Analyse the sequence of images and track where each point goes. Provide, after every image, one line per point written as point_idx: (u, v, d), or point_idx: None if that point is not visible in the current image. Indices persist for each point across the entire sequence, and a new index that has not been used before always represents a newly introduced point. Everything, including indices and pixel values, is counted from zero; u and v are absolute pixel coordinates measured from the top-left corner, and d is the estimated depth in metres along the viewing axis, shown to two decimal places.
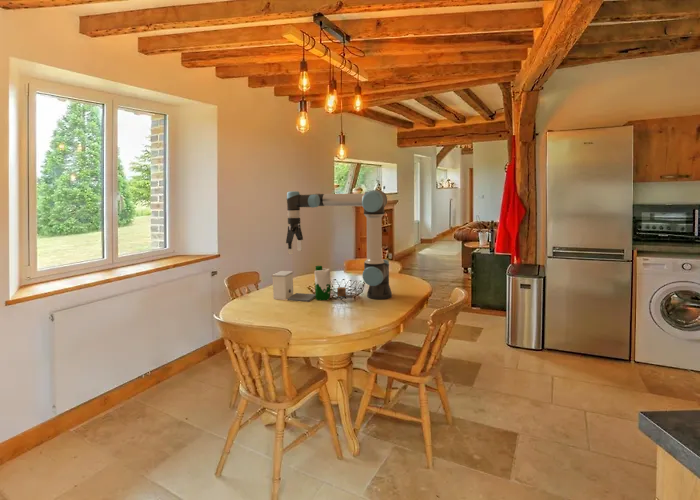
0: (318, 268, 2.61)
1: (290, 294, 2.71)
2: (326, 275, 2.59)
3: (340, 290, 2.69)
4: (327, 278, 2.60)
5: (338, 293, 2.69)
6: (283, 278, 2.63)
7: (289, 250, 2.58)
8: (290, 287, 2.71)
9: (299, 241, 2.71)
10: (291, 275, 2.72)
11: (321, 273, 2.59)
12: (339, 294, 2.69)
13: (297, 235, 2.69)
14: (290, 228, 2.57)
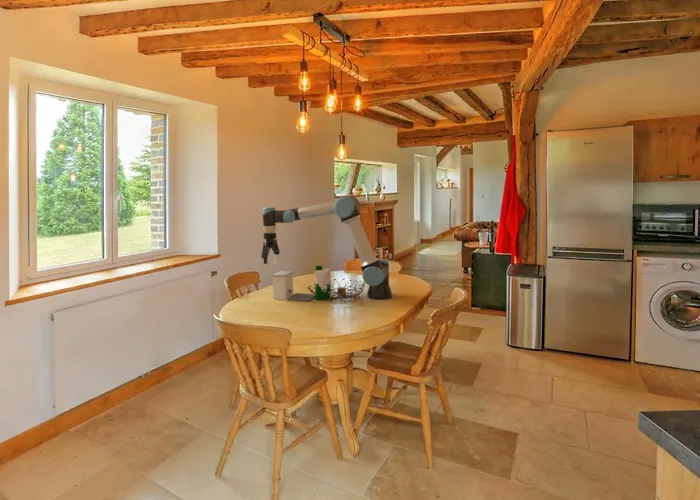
0: (318, 268, 2.61)
1: (290, 294, 2.71)
2: (326, 275, 2.59)
3: (340, 290, 2.69)
4: (327, 278, 2.60)
5: (338, 293, 2.69)
6: (283, 278, 2.63)
7: (265, 265, 2.64)
8: (290, 287, 2.71)
9: (275, 255, 2.76)
10: (291, 275, 2.72)
11: (321, 273, 2.59)
12: (339, 294, 2.69)
13: (273, 249, 2.74)
14: (265, 243, 2.62)
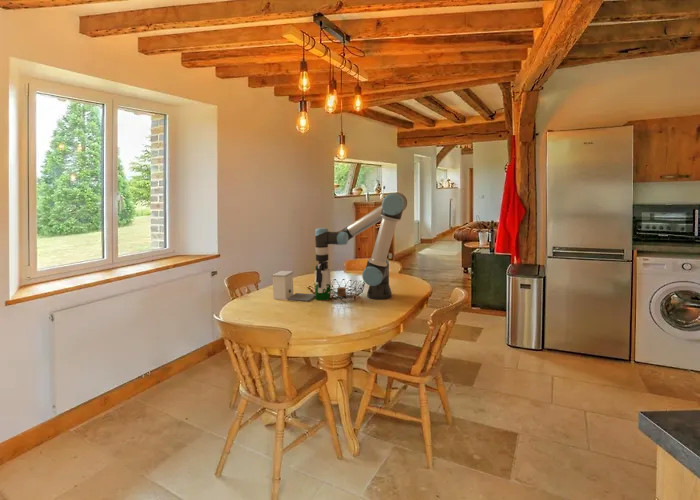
0: None
1: (290, 294, 2.71)
2: (326, 275, 2.59)
3: (340, 290, 2.68)
4: (327, 278, 2.60)
5: (338, 293, 2.69)
6: (283, 278, 2.63)
7: (319, 289, 2.60)
8: (290, 287, 2.71)
9: None
10: (291, 275, 2.72)
11: None
12: (339, 294, 2.69)
13: None
14: (319, 267, 2.56)
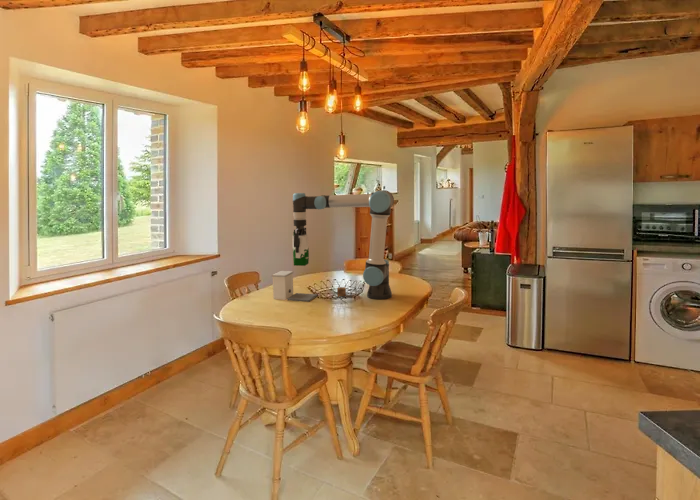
0: None
1: (290, 294, 2.71)
2: (304, 240, 2.59)
3: (340, 290, 2.69)
4: (305, 243, 2.60)
5: (338, 293, 2.69)
6: (283, 278, 2.63)
7: (296, 254, 2.59)
8: (290, 287, 2.71)
9: None
10: (291, 275, 2.72)
11: None
12: (339, 294, 2.69)
13: None
14: (296, 232, 2.55)
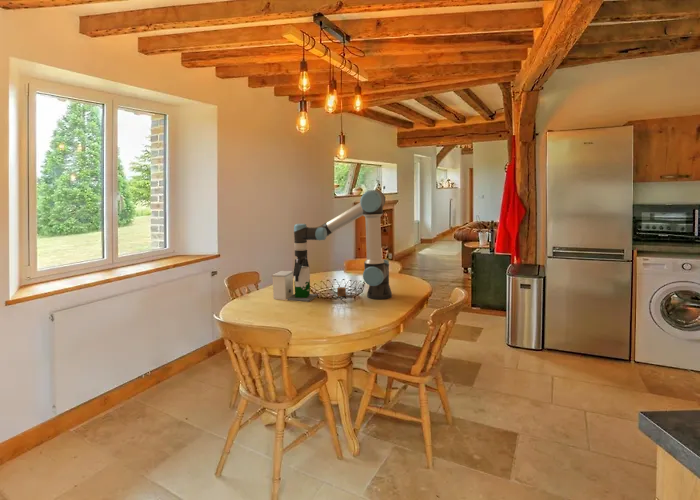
0: None
1: (290, 294, 2.71)
2: (305, 273, 2.62)
3: (340, 290, 2.69)
4: (306, 276, 2.63)
5: (338, 293, 2.69)
6: (283, 278, 2.63)
7: (296, 283, 2.60)
8: (290, 287, 2.71)
9: None
10: (291, 275, 2.72)
11: (300, 271, 2.61)
12: (339, 294, 2.69)
13: None
14: (297, 261, 2.58)
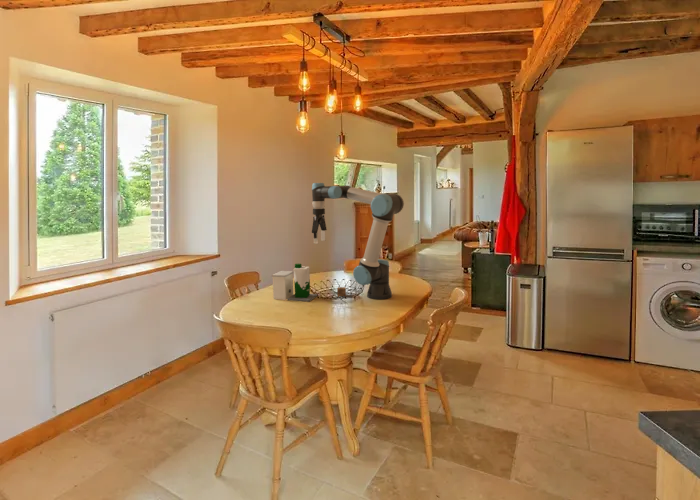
0: (297, 266, 2.63)
1: (290, 294, 2.71)
2: (305, 273, 2.62)
3: (340, 290, 2.69)
4: (306, 276, 2.63)
5: (338, 293, 2.69)
6: (283, 278, 2.63)
7: (314, 240, 2.67)
8: (290, 287, 2.71)
9: (323, 231, 2.80)
10: (291, 275, 2.72)
11: (300, 271, 2.61)
12: (339, 294, 2.69)
13: (321, 225, 2.78)
14: (315, 218, 2.65)
